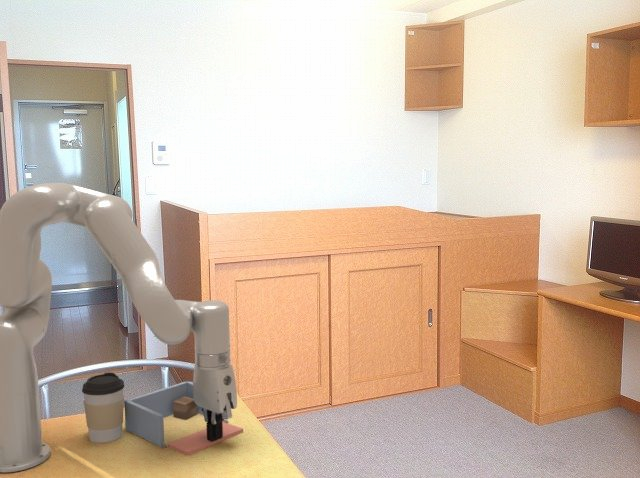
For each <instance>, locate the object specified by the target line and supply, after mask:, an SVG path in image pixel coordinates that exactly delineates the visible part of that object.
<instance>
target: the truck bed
mask: <svg viewBox="0 0 640 478" xmlns="http://www.w3.org/2000/svg"><path fill="white" fill-rule="evenodd" d="M184 396H185V397H189V398H193V399H194V397H193V381H189V380H185V381H183V382H180V383H175V384H173V385H170V386H167V387H164V388H161V389H158V390H154V391H151V392H148V393H144V394H141V395H139V396H136V397H132V398H129V399H126V400H125V399H124V427H125V428H124V429H125V430H126V431H128V432H130V433H132V434H134V435H136V436H138V437H140V438H142V439H144V440H146V441H148V442H150V443H152V444H155V445H156V446H159V447H161V448H162V449H167V448H168V444H166V443H165V430H164V429H165V428H164V427H165V424H164V418H166V417H169V416H172V415H173V401H175V400H178V399H180V398H182V397H184ZM197 414H199V415H202V416H204V414H203V412H202V410H200V409H199V408H198V407H197ZM217 415H218V414H217ZM223 422H225V423H228V424H229V421H228V419H224V421H223Z"/></svg>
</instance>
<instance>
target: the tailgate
mask: <svg viewBox="0 0 640 478" xmlns="http://www.w3.org/2000/svg"><path fill="white" fill-rule="evenodd" d="M222 424H223V437H222V438H221V439H218V440H216V441H213V442H211V441H210V440H207V427H206V428H204V429H201V430H199V431H196V432H194V433H192V434H190V435H187V436H184V437H181V438H179V439H177V440H174V441H172V442H169V443H167V448H168V447H169V448H171V449H173V450H174V451H177V452H179V453H181V454H183V455H184V456H191V455H193V454H195V453H198V452H200V451H202V450H205V449H207V448H209V447H211V446H214V445H217V444H219V443H221V442H224V441H226V440H228V439H231V438H233V437H235V436H238V435H240V434H242V433H244V428H241V427H239V426H236V425H233V424H230V423H229V422H228V423H225V422H222Z"/></svg>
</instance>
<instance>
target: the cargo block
mask: <svg viewBox="0 0 640 478" xmlns="http://www.w3.org/2000/svg"><path fill="white" fill-rule="evenodd" d="M172 415H173V417H174V418H177V419H181V420H183V421H186V420H189V419H191V418H193V417H195V416H197V415H198V413H197V404H195V402H194V399H193V398H189V397H185V396H184V397H182V398H180V399H178V400H175V401H173V414H172Z"/></svg>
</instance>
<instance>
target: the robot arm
mask: <svg viewBox="0 0 640 478" xmlns="http://www.w3.org/2000/svg"><path fill="white" fill-rule="evenodd" d="M133 217H134V216H133V209H132V207H131V205H130V204H129V203H128V202H127V201H126V200H125V199H124V198H122V197H120V196H118V195H113V194H109V193H105V192H101V191H97V190H93V189H90V188H86V187H82V186H79V185H75V184H71V183H67V182H45V183H40V184H35V185H31V186H28V187H25V188H22V189H21V190H18V191H16V192H15V193H13V194H12V195H11V196H9V198H7V200H6V201H4V203H3V205H2V206H1V208H0V307H2V308H4V311H3V313H1V314H0V473H14V472H20V471H25V470H29V469H32V468H34V467H36V466H38V465H41V464H42V463H44V462H45V461H46V460H47V459H48V458H49V457H50V455H51V447H50V446H49V445H48V444H46V443H45V442H43V437H42V421H41V406H40V405H41V404H40V403H41V402H40V391H39V390H40V387H39V378H38V369H37V363H36V359H35V356H34V347H35V346H36V345H37V344H39V342H41V340H42V339H43V338H44V337H45V335H46V333H47V330H48V328H49V327H48V326H49V321H50V320H49V319H50V311H51V310H50V309H51V301H52V299H51V298H52V288H53V278H52V274H51V270H50V268H49V267H48V265H47V264H46V262H44V261H43V260H41V258H40V256H41V250H42V236H41V235H42V234H41V233H42V230H43V228H44V227H46V226H49V225H50V226H52V225H55V224H60V223H62V222H63V223H66V224H67V223H68V224H71V225H75V226H79V227H82V228H87V231H88V232H89V234H90V236H91V237H92V238H93V240H94V241H95V242H96V244H97V245H98V246H99V248H100V249H101V251H102V253H104V255H105V257H106V258H107V260H109V262H110V264H111V265H112V266H113V268H114V270H115V271H116V273H117V274H118V275H119V277H120V279H121V281H122V284H123V286H124V288H125V290H126V291H127V292H126V293H127V294H128V295H129V297H130V300H131V302H132V304H133V305H134V307H135V309H136V311H137V313H138V314H139V316H140V317H141V318H142V320H143V322H144V323H145V324H146V325H147V327H148V329H149V330H150V331H151V332H152V334H153V335H154V336H155V337H156V339H158V340H159V341H160V342H161V343H163V344H165V345H171V346H174V345H178V344H181V343H182V342H185V340H186V339H187V338H188V337H189V336H190V333H193V337H194V369H193V376H192V377H193V380H192V382H193V397H194V402H195V404H197V407H198V408H199V409H200V410H202V412H203V414H204V415H203V417H204V418H203V419H204V421H205V423H206V428H207V440H210V441H211V442H213V441H216V440H218V439H221V438H222V437H223V424H222V422H223V421H224V420H230V419H232V418H233V412H232V409H234V410H235V409H236V408H237V407H238V393H237V384H236V375H235V371H234V367H233V365H232V364H231V341H230V337H231V336H230V308H229V305H228V303H226V302H225V301H222V300H203V301H195V300H186V299H175V298H174V297H173V296H172V294H171V292H170V291H169V289H168V287H167V284H166V283H165V281H164V279H163V276H162V274H161V269H160V264H159V260H158V257H157V254H156V252H155V251H154V250H153V248H152V247H151V245H150V244H149V243H148V241H147V240H146V238H145V237H144V235H143V234H142V232H141V231H140V230H139V228H138V227H137V225H136V223H135V222H134V221H133ZM217 414H218V415H217Z"/></svg>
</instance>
